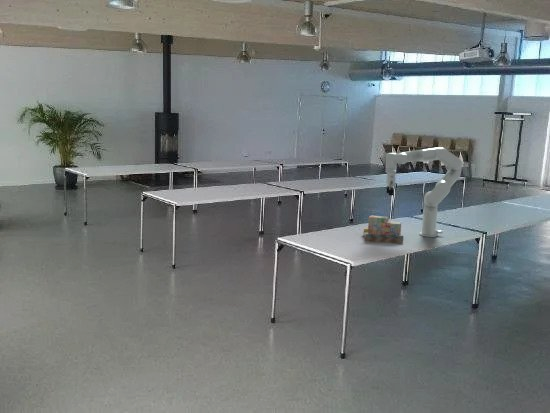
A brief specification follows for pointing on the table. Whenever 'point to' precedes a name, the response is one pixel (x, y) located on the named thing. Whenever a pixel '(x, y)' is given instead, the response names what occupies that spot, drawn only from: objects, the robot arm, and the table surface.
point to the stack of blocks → (383, 226)
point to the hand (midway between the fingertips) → (389, 194)
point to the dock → (382, 238)
